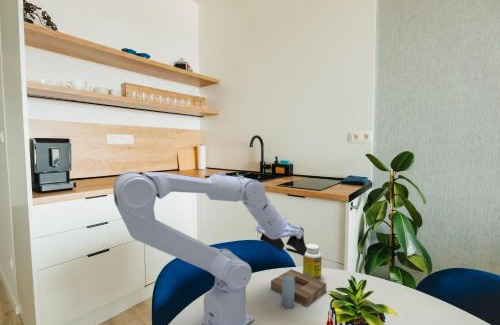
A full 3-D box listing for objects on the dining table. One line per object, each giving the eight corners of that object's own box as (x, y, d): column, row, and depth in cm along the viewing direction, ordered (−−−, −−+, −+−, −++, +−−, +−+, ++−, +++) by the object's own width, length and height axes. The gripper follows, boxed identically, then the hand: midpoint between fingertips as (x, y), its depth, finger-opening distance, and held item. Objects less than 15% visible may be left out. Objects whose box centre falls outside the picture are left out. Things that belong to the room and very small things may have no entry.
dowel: (289, 310, 64) (289, 283, 64) (279, 304, 66) (279, 278, 66) (296, 304, 66) (297, 278, 66) (286, 299, 69) (287, 274, 68)
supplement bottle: (314, 284, 76) (315, 251, 76) (299, 277, 80) (299, 245, 80) (324, 278, 80) (325, 246, 79) (309, 272, 84) (309, 241, 83)
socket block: (306, 307, 65) (306, 297, 65) (270, 289, 74) (270, 280, 74) (326, 291, 72) (326, 283, 72) (291, 276, 81) (291, 269, 81)
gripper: (297, 205, 62) (321, 241, 67) (255, 204, 72) (279, 235, 77) (284, 228, 58) (310, 264, 63) (242, 223, 68) (268, 255, 73)
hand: (292, 250), depth 70 cm, fingers open, 7 cm apart
